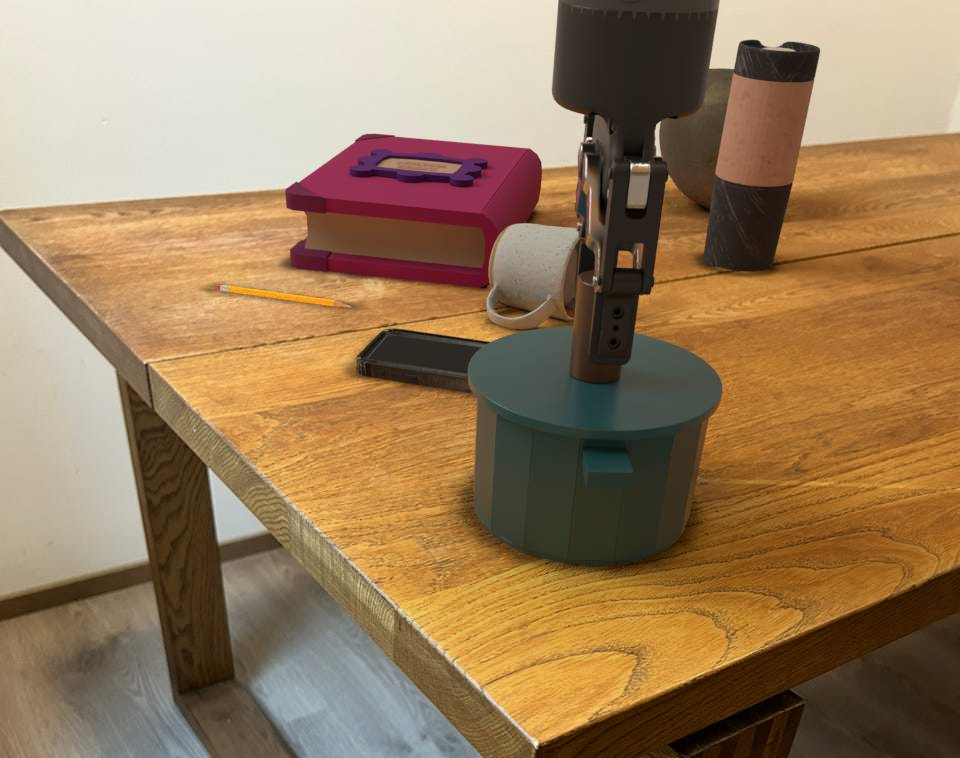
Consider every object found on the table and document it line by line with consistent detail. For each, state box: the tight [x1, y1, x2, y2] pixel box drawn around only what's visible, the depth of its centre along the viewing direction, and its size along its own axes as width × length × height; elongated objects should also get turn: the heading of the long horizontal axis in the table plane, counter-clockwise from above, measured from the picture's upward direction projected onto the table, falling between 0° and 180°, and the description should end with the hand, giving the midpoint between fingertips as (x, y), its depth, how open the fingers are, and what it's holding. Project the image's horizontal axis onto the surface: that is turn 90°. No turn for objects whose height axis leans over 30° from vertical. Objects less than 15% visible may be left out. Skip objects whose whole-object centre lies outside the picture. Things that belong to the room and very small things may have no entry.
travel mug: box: [702, 39, 821, 272], centre depth 98 cm, size 8×8×20 cm
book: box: [284, 133, 543, 289], centre depth 105 cm, size 21×28×8 cm
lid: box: [468, 270, 723, 440], centre depth 57 cm, size 15×15×7 cm
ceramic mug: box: [485, 222, 586, 330], centre depth 88 cm, size 11×8×8 cm
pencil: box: [214, 283, 352, 308], centre depth 91 cm, size 1×13×1 cm, turn 75°
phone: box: [355, 327, 491, 394], centre depth 80 cm, size 8×1×15 cm
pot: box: [472, 398, 710, 566], centre depth 61 cm, size 14×19×8 cm
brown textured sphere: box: [658, 67, 734, 210], centre depth 117 cm, size 14×14×15 cm
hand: (600, 332), depth 57 cm, fingers open, 8 cm apart
